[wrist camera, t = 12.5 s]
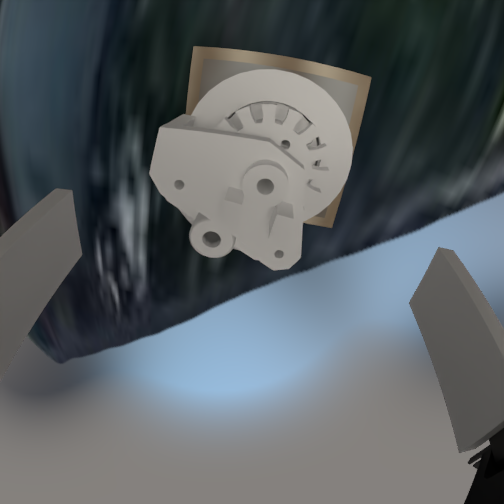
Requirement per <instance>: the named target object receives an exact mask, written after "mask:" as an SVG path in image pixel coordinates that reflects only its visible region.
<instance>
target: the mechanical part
mask: <svg viewBox="0 0 504 504" xmlns="http://www.w3.org/2000/svg"><path fill="white" fill-rule="evenodd" d="M352 153H353V146H352V138H351V132H350V129H349V126H348V123H347V120H346V118H345V116H344V114H343V112H342V111H341V109H340V107H339V106H338V104H337V103H336V102H335V101H334V99H333V98H332V97H331V96H330V95H329V94H328V93H327V92H326V91H325V90H324V89H322V88H321V87H319V86H318V85H317V84H315V83H314V82H312V81H311V80H309V79H307V78H304V77H302V76H300V75H297V74H295V73H291V72H286V71H281V70H276V69H257V70H252V71H248V72H243V73H239V74H237V75H234V76H232V77H230V78H228V79H226V80H223V81H222V82H220V83H219V84H218V85H216V86H215V87H214V88H212V89H211V90H209V91H208V93H207V94H206V95H205V96H204V97H203V98H202V99H201V100H200V101H199V103H198V104H197V106H196V107H195V109H194V111H193V113H192V114H191V116H190V115H186V114H183V115H181V116H179V117H177V118H176V119H174V120H172V121H171V122H169V123H167V124H164V125H163V126H161V127H160V128H159V132H158V136H157V140H156V145H155V149H154V153H153V158H152V162H151V167H150V172H149V174H150V176H151V178H152V180H153V181H154V183H155V185H156V187H157V188H158V190H159V192H160V194H161V195H163V196H164V197H165V198H166V200H167V201H168V202H170V203H171V204H173V205H174V206H176V207H177V208H178V209H179V210H180V211H181V212H182V214H183V215H184V216H185V217H186V219H187V220H188V221H189V222H190V223H191V224H192V227H191V229H190V232H189V239H190V242H191V245H192V246H193V248H194V249H195V250H196V251H197V252H198V253H200V254H202V255H204V256H206V257H211V258H218V257H222V256H225V255H227V254H228V253H229V252H231V250H232V249H237V250H241V251H242V252H243V253H245V254H246V255H248V256H249V257H251V258H252V259H254V260H260V262H262V263H263V264H264V265H266V266H267V267H269V268H270V269H272V270H282V269H289V268H290V267H291V266H292V265H294V264H295V263H296V262H297V261H298V260H299V259H300V258H301V246H302V228H303V222H304V221H306V220H308V219H310V218H312V217H313V216H315V215H317V214H319V213H320V212H321V211H322V210H323V209H325V208H326V207H327V206H328V205H330V204H331V202H332V201H333V200H334V199H335V198H336V196H337V195H338V194H339V193H340V191H341V189H342V187H343V186H344V184H345V182H346V180H347V177H348V174H349V171H350V168H351V164H352Z"/></svg>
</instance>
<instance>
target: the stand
mask: <svg viewBox="0 0 504 504" xmlns="http://www.w3.org/2000/svg"><path fill="white" fill-rule="evenodd" d="M257 69H276V70H281V71H286V72H291V73H295V74H297V75H300V76H302V77H304V78H307V79H309V80H311V81H312V82H314V83H315V84H317V85H318V86H319V87H321V88H322V89H324V90H325V91H326V92H327V93H328V94H329V95H330V96H331V97H332V98H333V99H334V101H335V102H336V103H337V104H338V106H339V107H340V109H341V111H342V112H343V114H344V116H345V118H346V120H347V123H348V126H349V129H350V132H351V138H352V146H353V152H354V148H355V145H356V141H357V137H358V133H359V129H360V125H361V121H362V117H363V112H364V108H365V104H366V100H367V95H368V91H369V86H370V82H371V77H369V76H365V75H362V74H359V73H355V72H352V71H348V70H344V69H340V68H336V67H332V66H328V65H324V64H320V63H315V62H311V61H306V60H301V59H296V58H291V57H285V56H280V55H274V54H267V53H260V52H253V51H245V50H236V49H226V48H214V47H197V46H194V47H193V54H192V62H191V70H190V79H189V87H188V97H187V107H186V115H190V116H191V114H192V113H193V111H194V109H195V107H196V106H197V104H198V103H199V101H200V100H201V99H202V98H203V97H204V96H205V95H206V94H207V93H208V91H209V90H211V89H212V88H214V87H215V86H216V85H218V84H219V83H220V82H222V81H223V80H226V79H228V78H230V77H232V76H234V75H237V74H239V73H243V72H248V71H252V70H257ZM352 156H353V153H352ZM344 185H345V184H344ZM343 189H344V186H343V187H342V189H341V191H340V193H339V194H338V195H337V196H336V198H335V199H334V200H333V201H332V202H331V204H330V205H328V206H327V207H326V208H325V209H323V210H322V211H321V212H320V213H319V214H317V215H315V216H313V217H312V218H310V219H308V220H306V221H304V222H303V223H307V224H313V225H318V226H324V227H329V228H332V225H333V222H334V219H335V216H336V212H337V209H338V206H339V202H340V199H341V195H342V192H343Z"/></svg>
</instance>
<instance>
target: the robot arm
mask: <svg viewBox="0 0 504 504" xmlns="http://www.w3.org/2000/svg"><path fill="white" fill-rule="evenodd" d="M81 256H82V250H81V245H80V239H79V234H78V228H77V222H76V215H75V208H74V201H73V193H72V190H66V189H55V190H53V191H52V192H51V193H50V194H48V195H47V196H46V197H45V198H44V199H42V200H41V201H40V202H39V203H38V204H36V205H35V206H34V207H33V208H32V209H31V210H29V211H28V212H27V213H26V214H25V215H24V216H23V217H22V218H20V219H19V220H18V221H17V222H16V223H15V224H14V225H13V226H12V227H11V228H10V229H8V230H7V231H6V232H5V233H4V234H3V235H2V236H1V237H0V382H1V380H2V378H3V376H4V374H5V372H6V371H7V369H8V367H9V365H10V363H11V361H12V360H13V358H14V356H15V354H16V352H17V351H18V349H19V348H20V346H21V344H22V342H23V341H24V339H25V337H26V336H27V334H28V332H29V331H30V329H31V328H32V326H33V324H34V323H35V321H36V320H37V318H38V317H39V315H40V314H41V312H42V310H43V309H44V307H45V306H46V304H47V303H48V301H49V300H50V298H51V297H52V296H53V294H54V293H55V291H56V290H57V288H58V287H59V285H60V284H61V283H62V281H63V280H64V278H65V277H66V276H67V274H68V273H69V272H70V270H71V269H72V267H73V266H74V265H75V263H76V262H77V261H78V259H79V258H80V257H81ZM409 304H410V307H411V309H412V311H413V314H414V316H415V319H416V321H417V324H418V326H419V329H420V331H421V334H422V336H423V339H424V341H425V344H426V347H427V349H428V352H429V355H430V357H431V360H432V363H433V366H434V369H435V371H436V374H437V377H438V380H439V384H440V387H441V389H442V392H443V396H444V399H445V402H446V406H447V409H448V412H449V416H450V419H451V423H452V427H453V430H454V434H455V438H456V442H457V446H458V450H459V453H462V452H465V451H469V450H472V449H476V448H477V447H478V446H480V445H481V444H483V443H484V442H486V441H487V440H488V439H489V441H490V445H489V446H488V447H486V448H485V449H483V450H482V451H480V452H479V453H477V454H476V455H474V456H473V457H471V458H470V460H469V462H468V464H471V463H473V462H474V461H476V460H477V459H479V458H481V460H480V461H478V462H476V463H475V464H474V465H473V467H475V468H477V472H476V475H475V478H474V481H473V483H472V486H471V488H470V491H469V493H468V496H467V498H466V500H465V503H464V504H504V329H503V327H502V325H501V323H500V322H499V320H498V318H497V317H496V315H495V313H494V312H493V310H492V308H491V306H490V305H489V303H488V301H487V300H486V298H485V297H484V295H483V293H482V292H481V290H480V289H479V287H478V286H477V284H476V283H475V281H474V280H473V278H472V277H471V275H470V274H469V272H468V271H467V269H466V268H465V266H464V265H463V263H462V262H461V261H460V259H459V258H458V256H457V255H456V254H455V252H454V251H453V250H449V249H444V248H440V247H438V249H437V251H436V253H435V255H434V258H433V259H432V261H431V263H430V265H429V267H428V269H427V271H426V273H425V275H424V277H423V279H422V280H421V282H420V284H419V286H418V288H417V289H416V291H415V293H414V295H413V297H412V298H411V300H410V302H409Z"/></svg>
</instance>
